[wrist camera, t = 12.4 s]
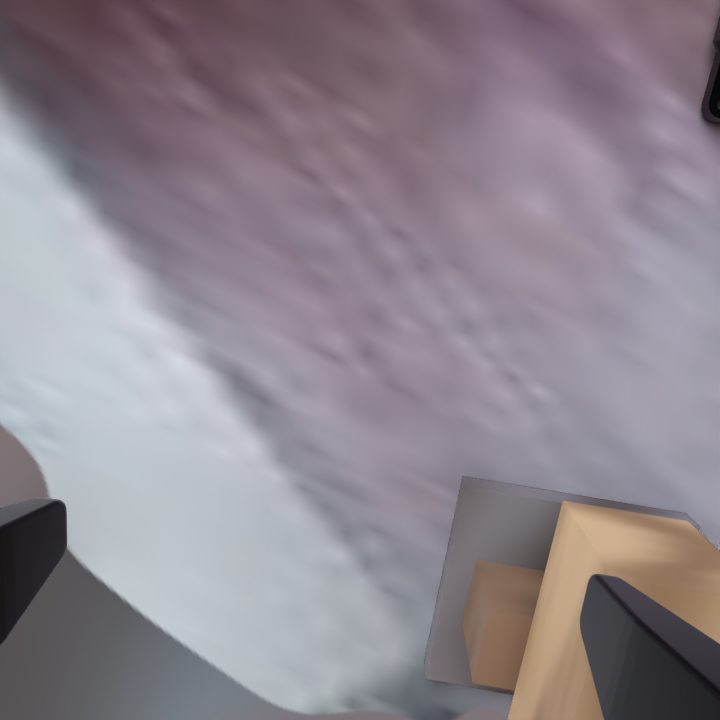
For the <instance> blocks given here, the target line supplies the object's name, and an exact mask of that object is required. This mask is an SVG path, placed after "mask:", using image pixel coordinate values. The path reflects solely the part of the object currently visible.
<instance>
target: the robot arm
mask: <svg viewBox="0 0 720 720" xmlns="http://www.w3.org/2000/svg"><path fill="white" fill-rule="evenodd" d="M713 43H714V46H715V49H716V55H715V58H714V62H713V66H712V69H711V73H710V77H709V80H708V84H707V88H706V91H705V95H704V99H703V102H702V113H703V116H704V117H705V118H706V119H707V120H710V121H713V122H719V123H720V110H719V109H718V107H717V106H716V105H717V100H718V98H719V97H720V18H719V21H718V25H717V29H716V33H715V36H714V40H713ZM66 547H67V511H66V506H65V503H64V502H63V501H61V500H57V499H50V498H42V497H39V498H35V499H31V500H27V501H23V502H20V503H16V504H12V505H9V506H5V507H1V508H0V646H1V644H2V643H3V642H4V641H5V639H6V638H7V637H8V635H9V634H10V633H11V631H12V630H13V628H14V627H15V626H16V624H17V623H18V621H19V620H20V618H21V617H22V616H23V614H24V613H25V611H26V610H27V609H28V607H29V606H30V604H31V603H32V601H33V600H34V598H35V597H36V596H37V594H38V593H39V591H40V590H41V588H42V587H43V585H44V584H45V582H46V581H47V580H48V578H49V577H50V575H51V574H52V572H53V571H54V569H55V568H56V566H57V565H58V564H59V562H60V561H61V559H62V557H63V555H64V553H65V550H66ZM580 631H581V636H582V639H583V643H584V647H585V651H586V654H587V658H588V662H589V666H590V670H591V673H592V677H593V681H594V685H595V689H596V692H597V696H598V700H599V704H600V708H601V711H602V715H603V718H604V720H720V644H719V643H718V642H716V641H715V640H713V639H712V638H710V637H709V636H707V635H706V634H704V633H703V632H701V631H700V630H698V629H697V628H695V627H694V626H692V625H691V624H689V623H688V622H686V621H685V620H683V619H682V618H680V617H679V616H677V615H676V614H674V613H673V612H671V611H670V610H668V609H667V608H665V607H663V606H662V605H660V604H659V603H657V602H656V601H654V600H653V599H651V598H650V597H648V596H647V595H645V594H644V593H642V592H641V591H639V590H638V589H636V588H635V587H633V586H632V585H630V584H629V583H627V582H626V581H624V580H623V579H621V578H619V577H617V576H611V575H604V574H593V575H592V576H591V577H590V579H589V581H588V584H587V588H586V593H585V597H584V601H583V605H582V610H581V614H580Z"/></svg>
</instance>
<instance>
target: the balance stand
mask: <svg viewBox="0 0 720 720" xmlns="http://www.w3.org/2000/svg"><path fill="white" fill-rule="evenodd" d="M563 501H568V502H574V503H580V504H586V505H593V506H599V507H605V508H611V509H617V510H623V511H629V512H635V513H641V514H648V515H654V516H660V517H666V518H672V519H678V520H684V521H688V522H689V523H691V524H692V525H693V526H694V527H695V528H696V529H697V530H698V531H699V529H700V526H699V525H698V524H697V523H696V522H695V521H694V520H692V519H691V518H690V517H689V516H688V515H687V514H686V513H680V512H674V511H668V510H662V509H656V508H651V507H645V506H639V505H633V504H627V503H621V502H615V501H609V500H603V499H597V498H591V497H585V496H579V495H573V494H567V493H561V492H555V491H549V490H543V489H537V488H531V487H525V486H519V485H513V484H507V483H501V482H495V481H489V480H483V479H477V478H471V477H465V476H463V477H462V482H461V487H460V492H459V496H458V501H457V506H456V511H455V516H454V520H453V525H452V530H451V535H450V540H449V544H448V549H447V554H446V559H445V564H444V568H443V573H442V578H441V583H440V588H439V592H438V597H437V602H436V607H435V612H434V616H433V621H432V626H431V631H430V636H429V640H428V645H427V650H426V655H425V660H424V663H425V678H426V679H429V680H434V681H440V682H445V683H451V684H456V685H462V686H467V687H473V688H478V689H484V690H489V691H495V692H500V693H506V694H511V695H514V692H515V688H516V684H517V680H518V676H519V672H520V668H521V664H522V660H523V656H524V652H525V648H526V644H527V640H528V636H529V632H530V628H531V625H532V621H533V617H534V613H535V609H536V605H537V601H538V597H539V593H540V589H541V585H542V581H543V577H544V573H545V569H546V565H547V561H548V557H549V553H550V549H551V546H552V542H553V538H554V534H555V530H556V526H557V522H558V518H559V514H560V510H561V506H562V502H563Z"/></svg>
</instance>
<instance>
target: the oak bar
mask: <svg viewBox="0 0 720 720" xmlns="http://www.w3.org/2000/svg"><path fill="white" fill-rule="evenodd" d="M593 574H604V575H611V576H617V577H619V578H621V579H623V580H624V581H626V582H627V583H629V584H630V585H632V586H633V587H635V588H636V589H638V590H639V591H641V592H642V593H644V594H645V595H647V596H648V597H650V598H651V599H653V600H654V601H656V602H657V603H659V604H660V605H662V606H663V607H665V608H667V609H668V610H670V611H671V612H673V613H674V614H676V615H677V616H679V617H680V618H682V619H683V620H685V621H686V622H688V623H689V624H691V625H692V626H694V627H695V628H697V629H698V630H700V631H701V632H703V633H704V634H706V635H707V636H709V637H710V638H712V639H713V640H715V641H716V642H718V643H719V644H720V551H719V550H718V549H717V548H716V547H715V546H714V545H713V544H712V543H711V542H710V541H709V540H708V539H706V538H705V537H704V536H703V535H702V534H701V533H700V532H699V531H698V530H697V529H696V528H695V527H694V526H693V525H692V524H691V523H689V522H688V521H684V520H678V519H672V518H666V517H660V516H654V515H648V514H641V513H635V512H629V511H623V510H617V509H611V508H605V507H599V506H593V505H586V504H580V503H574V502H568V501H563V502H562V506H561V510H560V514H559V518H558V522H557V526H556V530H555V534H554V538H553V542H552V546H551V549H550V553H549V557H548V561H547V565H546V569H545V573H544V577H543V581H542V585H541V589H540V593H539V597H538V601H537V605H536V609H535V613H534V617H533V621H532V625H531V628H530V632H529V636H528V640H527V644H526V648H525V652H524V656H523V660H522V664H521V668H520V672H519V676H518V680H517V684H516V688H515V692H514V696H513V700H512V703H511V707H510V711H509V715H508V719H507V720H604V718H603V715H602V711H601V708H600V704H599V700H598V696H597V692H596V689H595V685H594V681H593V677H592V673H591V670H590V666H589V662H588V658H587V654H586V651H585V647H584V643H583V639H582V636H581V631H580V614H581V610H582V605H583V601H584V597H585V593H586V588H587V584H588V581H589V579H590V577H591V576H592V575H593Z"/></svg>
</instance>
